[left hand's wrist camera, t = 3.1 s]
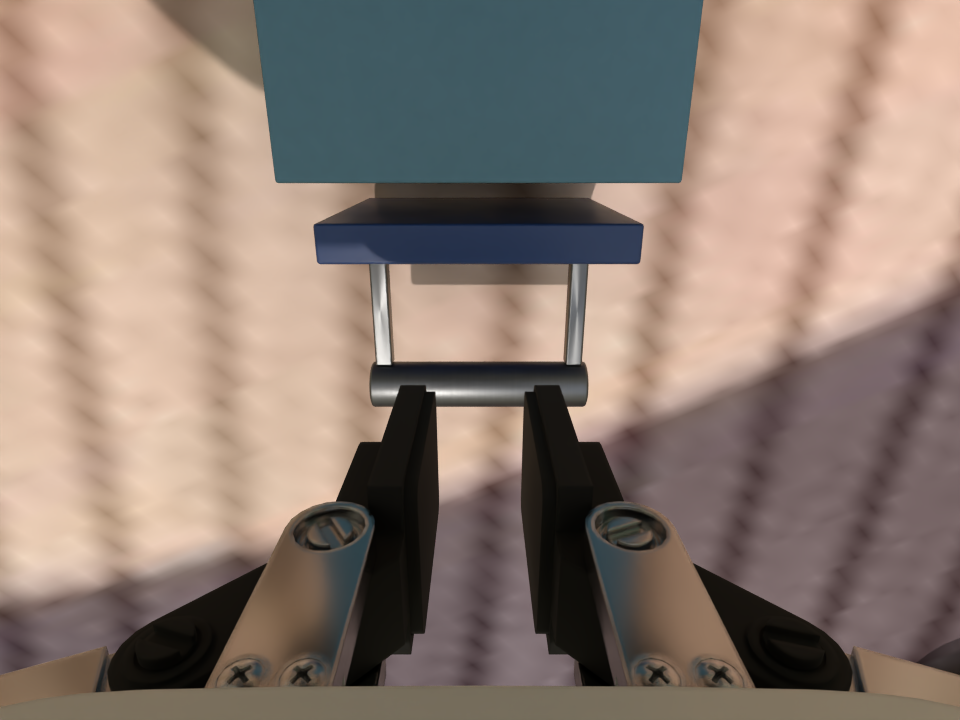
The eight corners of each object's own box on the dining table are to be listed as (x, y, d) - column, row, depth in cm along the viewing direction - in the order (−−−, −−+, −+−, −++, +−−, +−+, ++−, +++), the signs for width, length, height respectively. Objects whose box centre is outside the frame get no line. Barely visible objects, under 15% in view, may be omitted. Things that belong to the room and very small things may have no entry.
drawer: (579, 348, 27) (623, 437, 19) (378, 349, 27) (334, 437, 19) (611, -122, 21) (697, -298, 13) (346, -122, 21) (258, -297, 13)
